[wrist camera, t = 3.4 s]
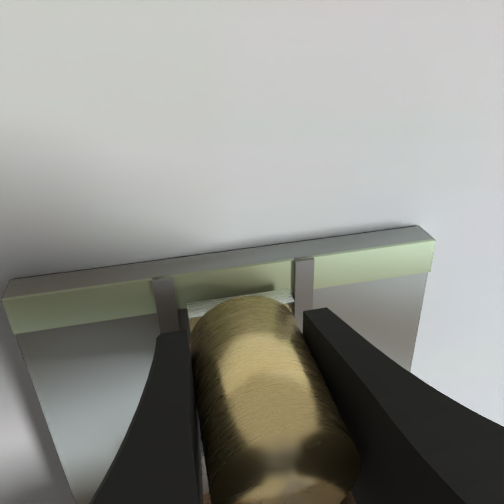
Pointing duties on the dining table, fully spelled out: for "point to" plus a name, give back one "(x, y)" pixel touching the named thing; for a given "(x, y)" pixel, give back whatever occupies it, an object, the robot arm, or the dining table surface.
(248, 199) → the dining table surface
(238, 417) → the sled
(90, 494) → the track
